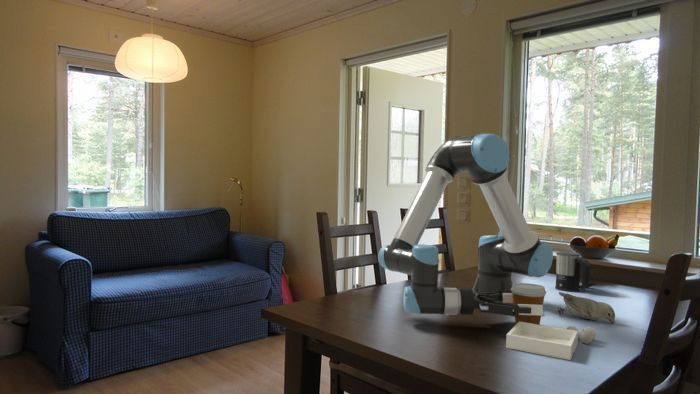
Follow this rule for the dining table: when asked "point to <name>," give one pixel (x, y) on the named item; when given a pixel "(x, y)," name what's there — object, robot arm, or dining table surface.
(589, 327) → the pebble
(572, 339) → the dish
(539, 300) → the disposable coffee cup
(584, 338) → the pebble
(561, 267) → the milk frother
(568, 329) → the pebble
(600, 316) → the decorative bird
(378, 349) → the dining table surface
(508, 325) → the dining table surface
